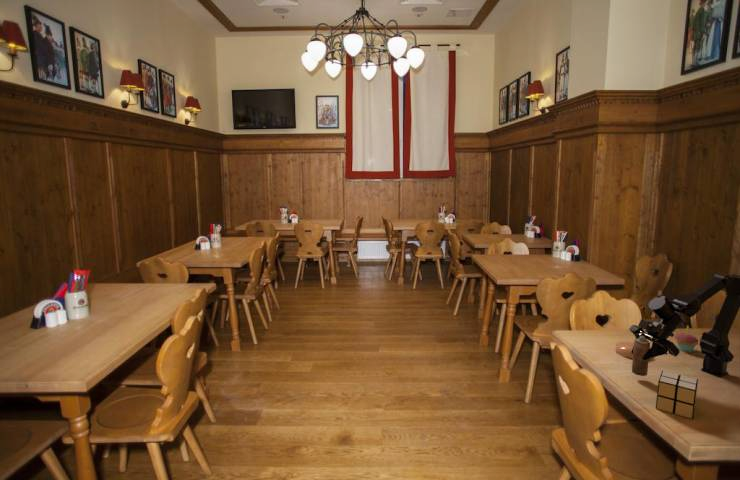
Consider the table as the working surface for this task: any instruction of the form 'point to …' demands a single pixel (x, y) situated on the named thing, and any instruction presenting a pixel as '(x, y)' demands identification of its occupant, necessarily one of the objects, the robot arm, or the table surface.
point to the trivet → (624, 349)
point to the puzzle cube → (676, 394)
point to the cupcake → (686, 341)
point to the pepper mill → (640, 356)
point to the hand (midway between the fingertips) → (637, 356)
